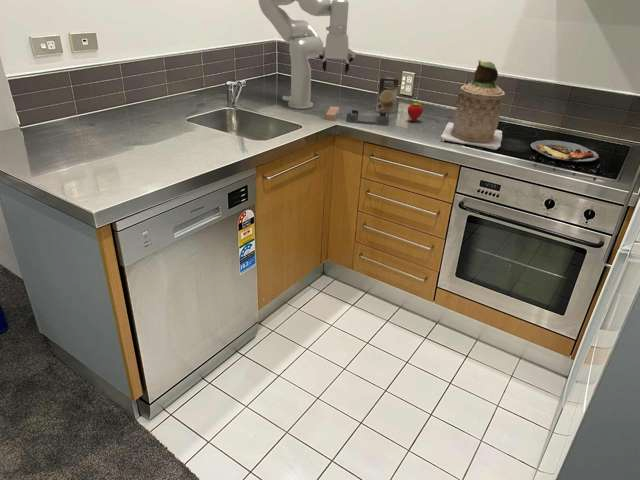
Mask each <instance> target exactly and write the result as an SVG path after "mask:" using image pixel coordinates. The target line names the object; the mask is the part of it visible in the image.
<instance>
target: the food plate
mask: <svg viewBox="0 0 640 480" xmlns="http://www.w3.org/2000/svg"><path fill="white" fill-rule="evenodd" d="M530 147H531V149H533V150H535V151H536V152H538V153H539V154H542V155H544V156H545V157H548V158H552V159H553V160H561V161H564V162H565V161H566V162H574V163H578V162H579V163H581V162H584V163H585V162H590V163H591V162H595V161H596V160H598V159H600V156H599V154H598V153H597V152H596V151H594V150H592V149H590V148H588V147H586V146H583V145H581V144H577V143H573V142H567V141H562V140H554V139H553V140H550V139H544V140H537V141H534V142H531V144H530Z"/></svg>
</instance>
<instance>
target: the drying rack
mask: <svg viewBox="0 0 640 480" xmlns="http://www.w3.org/2000/svg"><path fill="white" fill-rule="evenodd" d="M389 120H390V113H389V112H379V116H377V115H376V116H374V115H365V114H359V109H348V110H347V112H346V120H345V123H353V124H365V125H376V126H386V127H388V126H389Z"/></svg>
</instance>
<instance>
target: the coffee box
mask: <svg viewBox="0 0 640 480" xmlns="http://www.w3.org/2000/svg"><path fill="white" fill-rule="evenodd" d="M378 80H379V83H378V89H377V99H376V107H375V111H376V113H380V112H386V113H391V114H393V113H394V114H395V112H396V103H397V95H398V88H399V82H400V78H399V77H398V76H389V75H388V76H387V75H380V76H379V79H378Z"/></svg>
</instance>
